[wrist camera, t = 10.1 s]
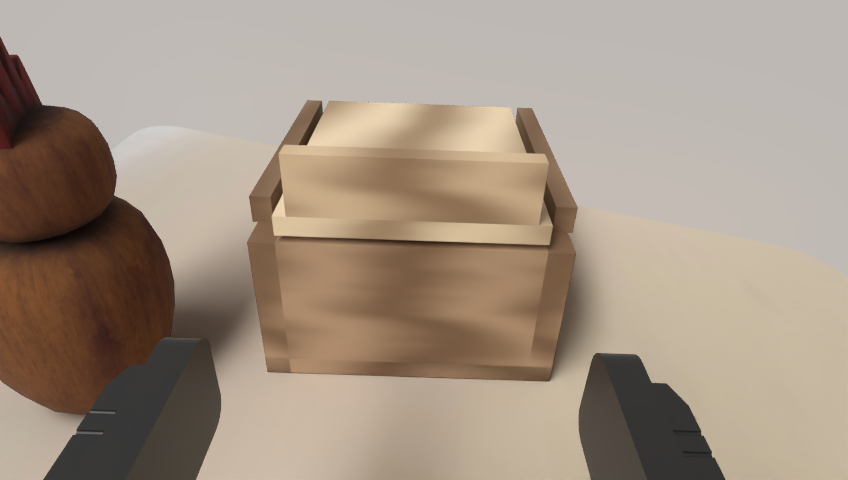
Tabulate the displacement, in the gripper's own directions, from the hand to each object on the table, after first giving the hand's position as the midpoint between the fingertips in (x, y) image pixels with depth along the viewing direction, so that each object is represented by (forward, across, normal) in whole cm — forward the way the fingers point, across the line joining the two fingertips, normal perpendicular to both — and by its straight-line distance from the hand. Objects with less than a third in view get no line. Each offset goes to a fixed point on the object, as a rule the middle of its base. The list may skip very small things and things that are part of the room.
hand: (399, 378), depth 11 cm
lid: (+16, 0, +3) cm, 16 cm away
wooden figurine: (+9, +12, +10) cm, 18 cm away
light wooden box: (+16, 0, +10) cm, 19 cm away
